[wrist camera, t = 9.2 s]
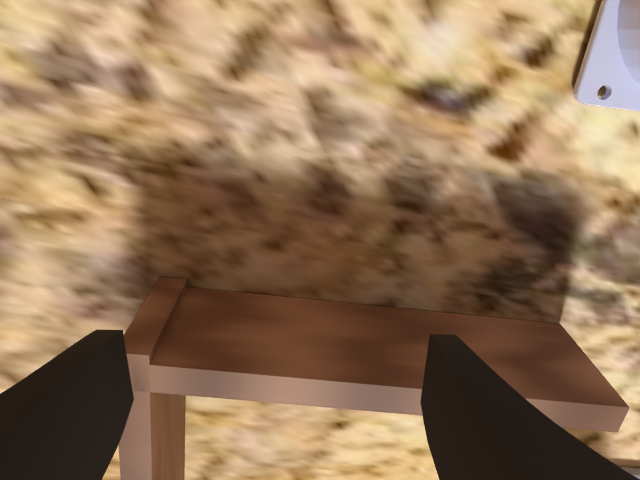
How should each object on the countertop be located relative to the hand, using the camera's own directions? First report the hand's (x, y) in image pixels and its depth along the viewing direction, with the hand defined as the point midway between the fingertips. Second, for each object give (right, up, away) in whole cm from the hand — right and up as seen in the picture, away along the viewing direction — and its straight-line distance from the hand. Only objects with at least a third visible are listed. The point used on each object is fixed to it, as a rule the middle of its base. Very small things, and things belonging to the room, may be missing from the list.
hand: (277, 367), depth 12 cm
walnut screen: (+2, -7, +14) cm, 16 cm away
